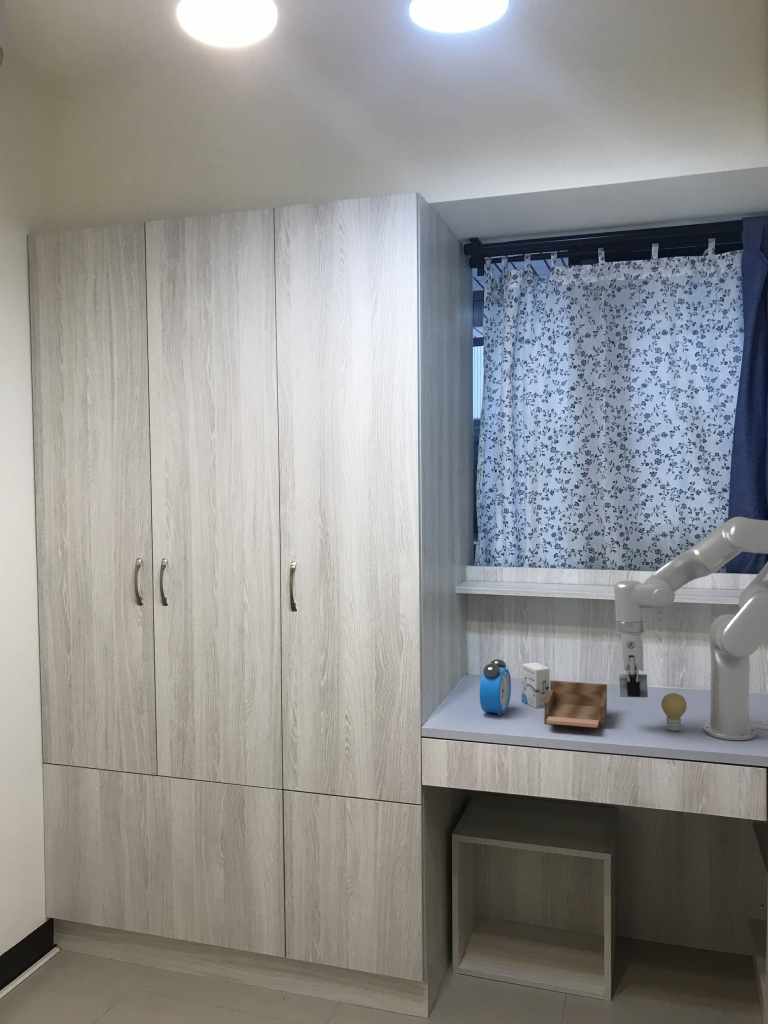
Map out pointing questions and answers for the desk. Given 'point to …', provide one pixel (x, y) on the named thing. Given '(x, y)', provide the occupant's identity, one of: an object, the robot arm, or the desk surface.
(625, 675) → the blue gray block
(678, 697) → the light bulb
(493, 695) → the alarm clock
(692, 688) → the desk surface
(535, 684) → the ink box
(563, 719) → the panel
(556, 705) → the brown open box
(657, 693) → the desk surface
